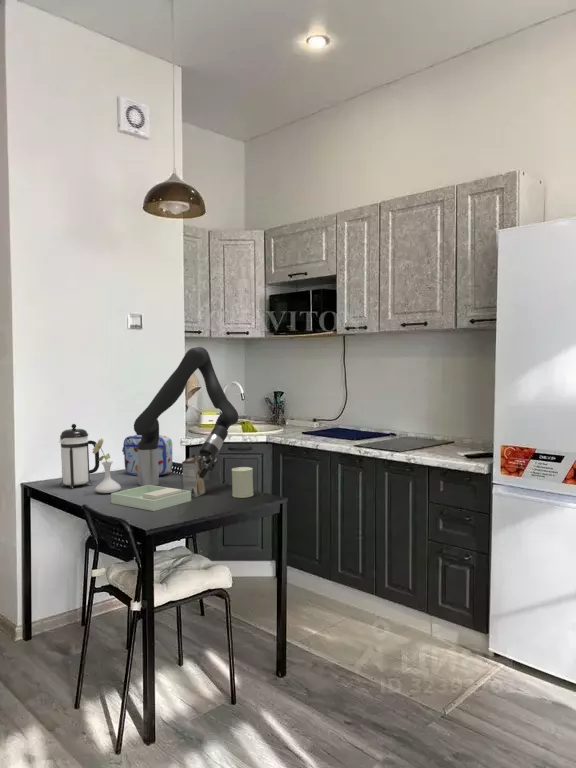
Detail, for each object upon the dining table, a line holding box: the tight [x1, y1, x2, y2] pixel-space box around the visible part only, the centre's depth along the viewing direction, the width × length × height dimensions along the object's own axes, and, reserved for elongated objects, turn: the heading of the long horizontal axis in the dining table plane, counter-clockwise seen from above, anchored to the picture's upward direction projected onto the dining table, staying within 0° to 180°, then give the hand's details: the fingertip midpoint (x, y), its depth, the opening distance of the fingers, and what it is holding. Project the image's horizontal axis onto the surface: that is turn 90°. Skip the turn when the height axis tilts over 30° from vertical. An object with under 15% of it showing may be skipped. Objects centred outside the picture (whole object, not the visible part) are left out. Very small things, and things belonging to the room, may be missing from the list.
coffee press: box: [58, 423, 100, 489], centre depth 300 cm, size 17×16×30 cm
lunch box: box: [121, 432, 173, 476], centre depth 324 cm, size 28×10×22 cm, turn 68°
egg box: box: [142, 487, 182, 500], centre depth 253 cm, size 8×14×5 cm, turn 143°
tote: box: [110, 485, 192, 512], centre depth 257 cm, size 26×20×5 cm
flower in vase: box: [92, 437, 122, 494], centre depth 282 cm, size 13×11×25 cm
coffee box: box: [181, 456, 206, 498], centre depth 269 cm, size 9×6×16 cm
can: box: [231, 466, 254, 499], centre depth 269 cm, size 9×9×12 cm
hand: (193, 476), depth 270 cm, fingers closed on coffee box, 8 cm apart
